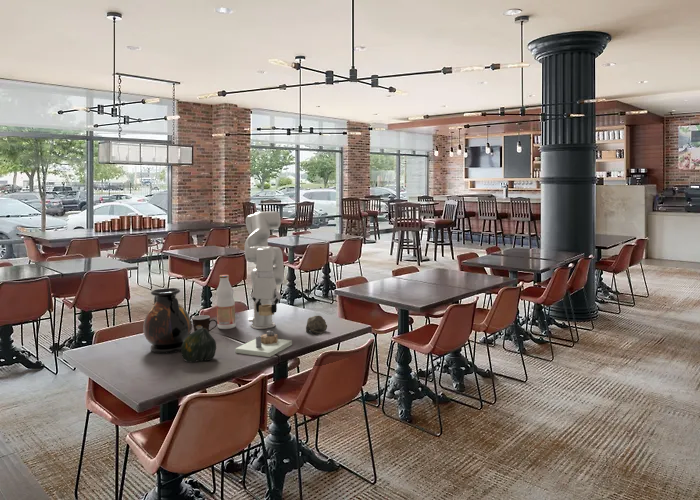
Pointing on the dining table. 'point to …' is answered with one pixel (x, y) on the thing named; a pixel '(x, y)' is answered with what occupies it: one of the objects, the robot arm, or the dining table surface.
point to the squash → (198, 346)
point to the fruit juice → (225, 304)
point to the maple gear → (265, 310)
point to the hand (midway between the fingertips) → (266, 311)
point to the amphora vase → (166, 322)
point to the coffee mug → (202, 322)
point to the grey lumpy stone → (316, 325)
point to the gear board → (264, 345)
